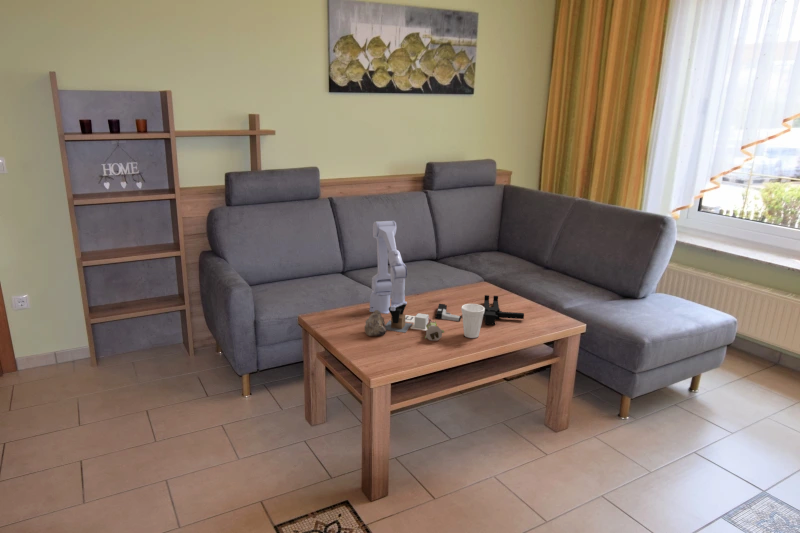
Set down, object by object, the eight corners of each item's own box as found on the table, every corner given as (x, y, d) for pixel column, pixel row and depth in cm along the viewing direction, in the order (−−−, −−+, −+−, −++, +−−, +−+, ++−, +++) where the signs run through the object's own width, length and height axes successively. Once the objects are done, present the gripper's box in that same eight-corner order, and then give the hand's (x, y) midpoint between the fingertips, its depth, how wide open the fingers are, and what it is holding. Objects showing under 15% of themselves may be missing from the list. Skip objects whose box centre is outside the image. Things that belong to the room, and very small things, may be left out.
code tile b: (410, 328, 249) (410, 328, 248) (415, 322, 256) (415, 321, 256) (427, 331, 246) (427, 330, 246) (432, 325, 254) (432, 324, 254)
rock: (364, 343, 240) (374, 331, 233) (355, 320, 245) (365, 307, 238) (382, 341, 245) (392, 329, 238) (373, 318, 250) (383, 306, 243)
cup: (458, 339, 239) (459, 310, 235) (461, 330, 248) (462, 302, 245) (481, 341, 237) (483, 312, 233) (483, 332, 246) (485, 304, 243)
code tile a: (397, 321, 257) (397, 320, 257) (403, 315, 265) (403, 314, 265) (414, 323, 255) (414, 322, 255) (419, 317, 262) (419, 316, 262)
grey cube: (414, 327, 249) (414, 317, 248) (417, 323, 254) (417, 313, 253) (425, 329, 248) (425, 318, 247) (428, 325, 253) (428, 314, 251)
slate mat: (381, 329, 247) (381, 329, 247) (389, 321, 257) (389, 320, 257) (405, 333, 244) (405, 332, 244) (412, 324, 254) (412, 323, 254)
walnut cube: (391, 327, 248) (391, 317, 247) (394, 323, 253) (394, 313, 252) (401, 329, 247) (402, 318, 246) (405, 325, 252) (405, 314, 250)
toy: (520, 297, 280) (525, 314, 251) (519, 307, 282) (525, 326, 252) (464, 294, 284) (463, 311, 255) (464, 304, 285) (462, 322, 256)
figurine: (447, 339, 234) (443, 327, 249) (441, 324, 232) (437, 312, 247) (427, 346, 234) (424, 334, 249) (421, 331, 233) (419, 319, 247)
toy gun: (462, 305, 272) (438, 302, 274) (460, 317, 257) (434, 314, 259) (462, 311, 273) (437, 308, 275) (460, 324, 258) (434, 320, 259)
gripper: (401, 298, 238) (401, 327, 242) (411, 287, 251) (410, 316, 255) (386, 296, 240) (385, 325, 244) (396, 286, 253) (396, 314, 257)
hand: (397, 320), depth 249 cm, fingers closed on walnut cube, 5 cm apart
